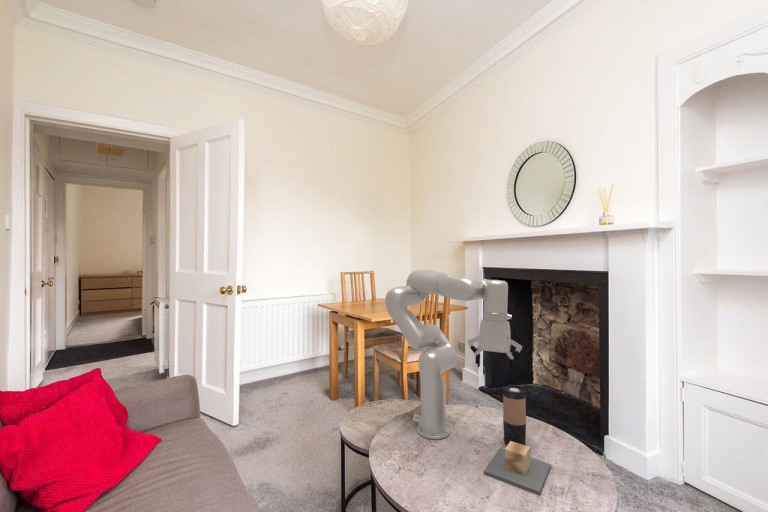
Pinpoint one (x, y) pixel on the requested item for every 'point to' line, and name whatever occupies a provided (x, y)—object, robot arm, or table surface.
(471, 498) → the table surface
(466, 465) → the table surface
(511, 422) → the travel mug
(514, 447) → the oak block
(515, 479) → the charcoal mat
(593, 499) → the table surface
